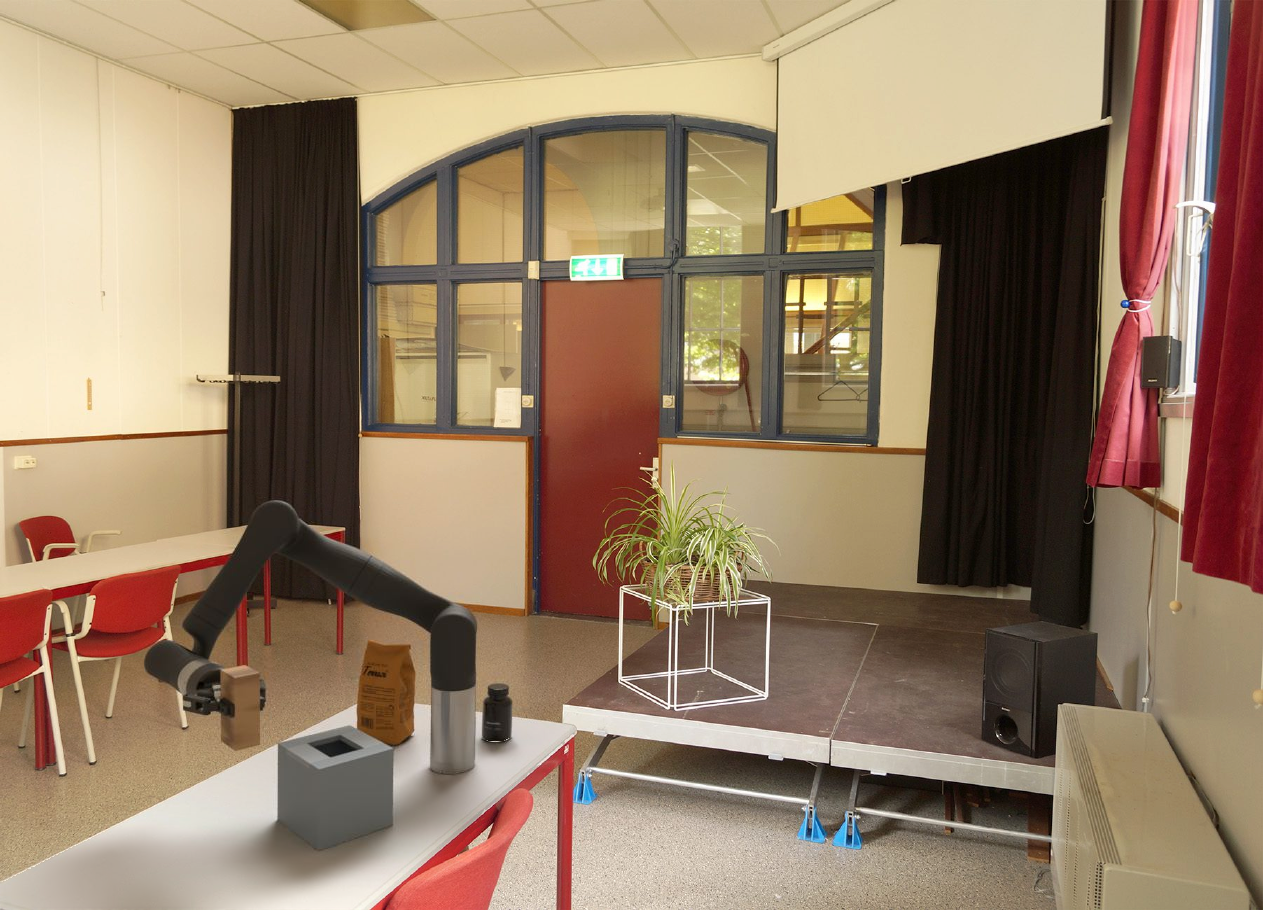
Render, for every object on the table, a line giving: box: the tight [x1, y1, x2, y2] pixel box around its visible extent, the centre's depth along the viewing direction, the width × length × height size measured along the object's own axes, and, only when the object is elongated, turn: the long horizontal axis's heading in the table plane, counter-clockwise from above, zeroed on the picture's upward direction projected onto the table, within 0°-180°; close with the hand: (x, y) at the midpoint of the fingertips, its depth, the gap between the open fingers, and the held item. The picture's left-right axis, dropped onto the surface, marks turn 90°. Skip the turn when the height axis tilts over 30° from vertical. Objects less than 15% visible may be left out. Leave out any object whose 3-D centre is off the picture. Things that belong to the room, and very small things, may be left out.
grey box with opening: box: [276, 724, 395, 852], centre depth 160 cm, size 16×14×14 cm
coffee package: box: [356, 639, 416, 746], centre depth 203 cm, size 10×12×22 cm
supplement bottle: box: [481, 682, 514, 742], centre depth 204 cm, size 7×7×12 cm
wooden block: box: [220, 664, 261, 752], centre depth 147 cm, size 6×4×12 cm, turn 45°
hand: (247, 708), depth 145 cm, fingers closed on wooden block, 4 cm apart
